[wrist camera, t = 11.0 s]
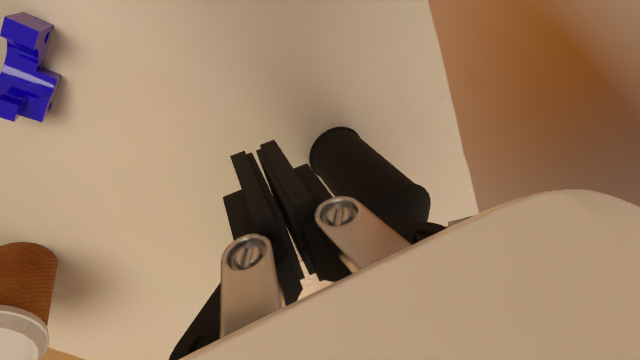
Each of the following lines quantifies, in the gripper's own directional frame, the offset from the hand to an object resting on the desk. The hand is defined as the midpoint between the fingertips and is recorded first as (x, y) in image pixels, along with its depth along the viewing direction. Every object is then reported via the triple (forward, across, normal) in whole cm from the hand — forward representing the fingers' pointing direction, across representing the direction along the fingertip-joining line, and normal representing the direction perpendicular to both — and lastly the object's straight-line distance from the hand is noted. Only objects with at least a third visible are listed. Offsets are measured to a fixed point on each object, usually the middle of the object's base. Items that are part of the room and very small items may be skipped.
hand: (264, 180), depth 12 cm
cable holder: (+27, +14, -3) cm, 31 cm away
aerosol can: (+27, -12, +18) cm, 35 cm away
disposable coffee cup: (+27, +28, +16) cm, 42 cm away
